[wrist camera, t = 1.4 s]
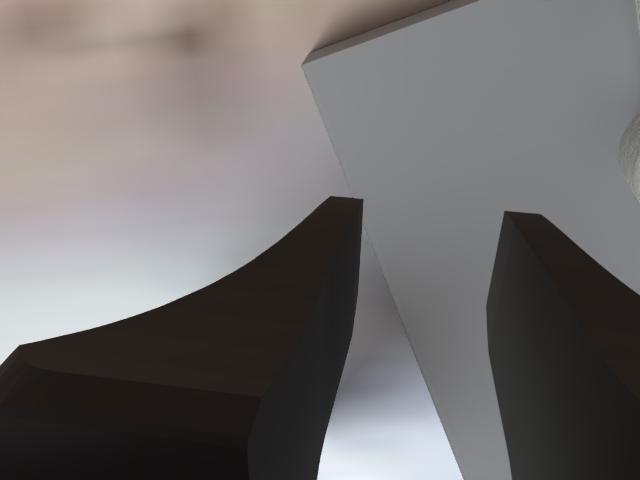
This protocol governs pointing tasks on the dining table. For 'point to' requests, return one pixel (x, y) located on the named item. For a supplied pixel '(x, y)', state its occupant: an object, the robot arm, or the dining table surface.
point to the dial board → (482, 168)
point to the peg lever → (631, 147)
